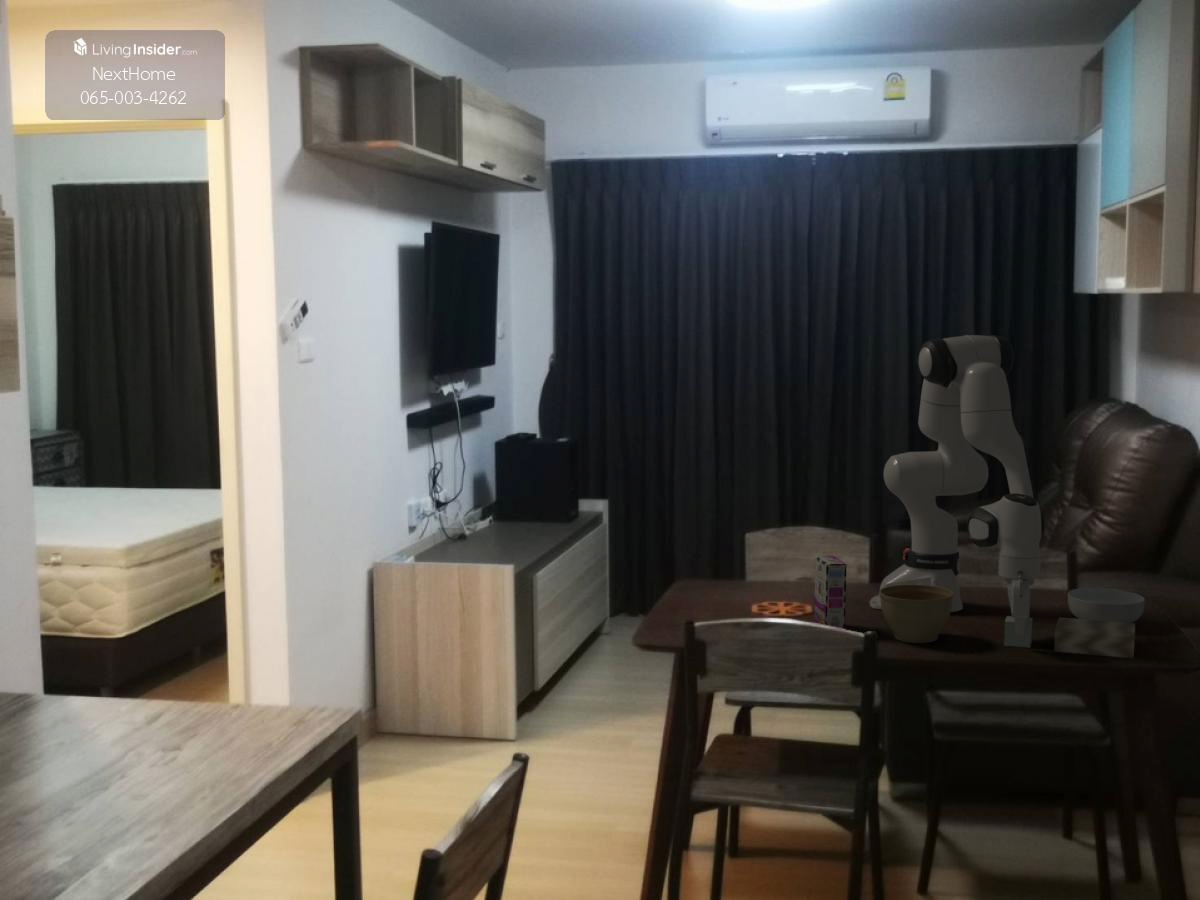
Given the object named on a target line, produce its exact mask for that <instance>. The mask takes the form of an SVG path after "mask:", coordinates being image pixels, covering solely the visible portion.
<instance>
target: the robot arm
mask: <svg viewBox="0 0 1200 900" xmlns="http://www.w3.org/2000/svg"><path fill="white" fill-rule="evenodd" d="M917 357H918V358H917V366H918V370H919V373H920V375H921V376H922V378H923V382H922V386H921V387H922V388H921V394H920V402H919V403H920V404H919V412H918V421H917V424H918V428H919V430H920V432H921V433H922V434H923V435H924V436H925V437H927V438H928V439H930V440H932V441H935V442H936V443H937V444H938V445H937V446H938V447H937V450H933V451H907V452H903V453H898V454H895V455H891V456H890V457H889V458H888V459H887V461H886V463H885V465H884V468H883V480H884V484H885V486H886V487H887V489H888V491H890V492H891V493H892V494H893V495H895V496H896V497H897V498H898V499H899V500H900V501H901V502H902V504H903V505H904V507H905V508H906V511H907V514H908V517H909V519H910V533H911V548H909V547H908V548H907V547H906V548H905V549H904V550H903V552H902V553H903V554H902V563H903V564H902V565H900V566H899V567H897V568H896V569H895V570H894V571H892V572H891V573H889V574H888V575H886V576H885V577H884V578H883V579H882V581H881V584H880V588H879V593H878V594H877V595H874V596H873V597H871V599H870V600H869V601H870V602H869V606H870V607H871V608H872V609H877V610H882V607H881V597H880V590H881V589H882V588H884V587H888V586H894V585H930V586H937V587H942V588H946V589H948V590H951V591H952V592H953V599H952V607H951V612H950V613H954V612H959V611H962V610H963V608H964V605H963V602H962V598H961V593H960V586H959V572H960V561H961V560H960V559H961V558H960V552H959V550H958V540H959V539H958V538H959V537H958V535H959V534H958V533H959V532H958V531H959V530H958V529H959V528H958V527H959V524H958V521H957V519H956V518H955V516H954V515H952V514H951V513H950V512H948V511H946V510H944V509H942V508H940V507H938V505H937V501H936V497H939V496H943V497H944V496H964V495H969V494H970V495H971V494H973V493H977V492H980V491H982V490H983V488H984V487H985V486H986V484H987V483H988V479H989V466H988V463H987V461H986V460H985V457H983V456H982V455H981V454H980V453H979V452H977V450H979V451H981V452H983V453H986V454H988V455H990V456H991V457H994V458H996V459H997V460H998V461H999V462H1000V463H1001V464H1002V466H1003V468H1004V469H1005V474H1006V478H1007V479H1006V480H1007V484H1008V489H1009V493H1007V494H1005V495H1003V496H1002V497H1001V498H1000V500H998V501H995V502H993V503H990V504H986V505H982V506H978V507H976V508H973V509H972V511H971V512H970V513H969V515H968V518H967V522H966V530H967V535H968V537H969V539H970V540H971V542H972V543H973V544H974V545H975V546H977V547H979V548H984V549H992V548H993V549H994V548H997V549H998V550H999V552H998V575H999V577H1002V578H1003V579H1004V580H1003V582H1004V584H1006V586H1007V587H1006V588H1007V597H1008V601H1009V602H1008V603H1009V607H1010V612H1011V613H1010V614H1011V616H1012V617H1013V618H1015V634H1016V635H1023V634H1024V623H1025V618H1030V613H1031V612H1030V611H1031V610H1030V609H1031V608H1030V607H1031V606H1030V605H1031V603H1030V599H1031V598H1030V597H1031V595H1030V594H1031V593H1030V592H1031V588H1030V586H1033V585H1034V584H1035V580H1036V579H1039V578H1041V569H1042V568H1041V566H1042V565H1041V564H1042V563H1041V561H1042V559H1041V557H1042V556H1041V555H1042V554H1041V550H1040V549H1041V548H1040V542H1041V539H1042V537H1043V535H1044V532H1045V530H1046V521H1045V516H1044V512H1043V510H1042V508H1041V505H1040V502H1039V499H1038V498H1039V497H1038V494H1037V489H1036V484H1035V479H1034V475H1033V469H1032V465H1031V459H1030V455H1029V451H1028V447H1027V444H1026V441H1025V439H1024V438H1023V436H1022V435H1021V434H1019V432H1018V431H1017V429H1016V425H1015V423H1014V419H1013V415H1012V414H1013V413H1012V403H1011V394H1010V389H1009V384H1008V380H1007V376H1008V375H1009V373H1011V370H1012V368H1013V365H1014V361H1015V359H1014V357H1015V355H1014V350H1013V346H1012V344H1011V343H1010V341H1009V340H1008V339H1007V338H1005V337H1004V336H998V335H994V334H989V335H979V334H978V335H977V334H971V335H970V334H969V335H968V334H967V335H966V334H965V335H962V336H961V335H960V336H951V337H944V338H941V337H937V338H932V339H930V340H927V341H925V342H924V343H923V344H922V346H921V347H920V349H919V351H918V356H917ZM974 448H975V449H974Z"/></svg>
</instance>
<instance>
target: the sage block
mask: <svg viewBox="0 0 1200 900" xmlns="http://www.w3.org/2000/svg"><path fill="white" fill-rule="evenodd" d="M1003 634H1004V637H1003V640H1004V642H1003V644H1004V645H1003V646H1005V647H1018V648H1026V649H1027V648H1028V649H1030V648H1031V646H1032V643H1033V642H1032V641H1033V640H1032V639H1033V617H1029V618H1025V623H1024V634H1023V635H1016V634H1015V618H1013V617H1012V615H1006V617H1005V620H1004V633H1003Z"/></svg>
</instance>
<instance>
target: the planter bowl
mask: <svg viewBox="0 0 1200 900" xmlns="http://www.w3.org/2000/svg"><path fill="white" fill-rule="evenodd" d="M879 591H880V597H881V607H882V609H881V612H882V615H883V617H884V620H885V621H886V623H887V625H888V627H889V628H890V630H892V633H893V636H894V638H895V639H896V640H898V641H899V642H904V643H909V644H927V643H934V642H935V641H937V640H938V638H939V634H940V632H942V630H943V629H944V628H945V626H946V624H947V622H948V620H949V617H950V615H951V613H952V612H951V607H952V599H953V592H952V591H951V590H948V589H946V588H942V587H937V586H930V585H894V586H888V587H884V588H882V589H881V590H880V589H879Z"/></svg>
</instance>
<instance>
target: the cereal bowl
mask: <svg viewBox="0 0 1200 900" xmlns="http://www.w3.org/2000/svg"><path fill="white" fill-rule="evenodd" d="M1145 603H1146V600H1145V597H1144V596H1142V595H1141V594H1138V593H1134V592H1132V591H1127V590H1122V589H1115V588H1109V587H1108V588H1107V587H1106V588H1105V587H1081V588H1080V587H1079V588H1074V589H1071V590H1069V591H1068V593H1067V605H1068V606H1067V607H1068V608H1069V610H1070V612H1071V613H1072V615H1074V616H1075V617H1076V619H1086V620H1099V621H1112V622H1125V623H1134V622H1136V621H1137V620H1139V619H1140V617H1141V616H1142V615H1143V613H1144V609H1145V606H1146V605H1145Z"/></svg>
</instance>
